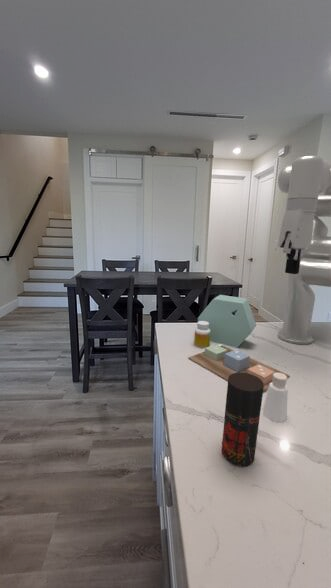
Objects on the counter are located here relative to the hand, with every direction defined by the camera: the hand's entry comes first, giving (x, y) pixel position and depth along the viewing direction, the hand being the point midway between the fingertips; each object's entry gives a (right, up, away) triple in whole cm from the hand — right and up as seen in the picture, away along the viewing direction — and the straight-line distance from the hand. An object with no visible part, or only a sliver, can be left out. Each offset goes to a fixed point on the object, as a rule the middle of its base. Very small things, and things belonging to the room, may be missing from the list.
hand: (291, 273), depth 77 cm
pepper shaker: (-13, -34, -18) cm, 41 cm away
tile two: (-16, -28, +1) cm, 32 cm away
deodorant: (-23, -36, -27) cm, 51 cm away
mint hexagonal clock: (-15, -25, +21) cm, 36 cm away
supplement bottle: (-24, -25, +16) cm, 39 cm away
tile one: (-21, -27, +8) cm, 35 cm away
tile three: (-11, -30, -5) cm, 33 cm away
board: (-16, -29, +2) cm, 33 cm away
